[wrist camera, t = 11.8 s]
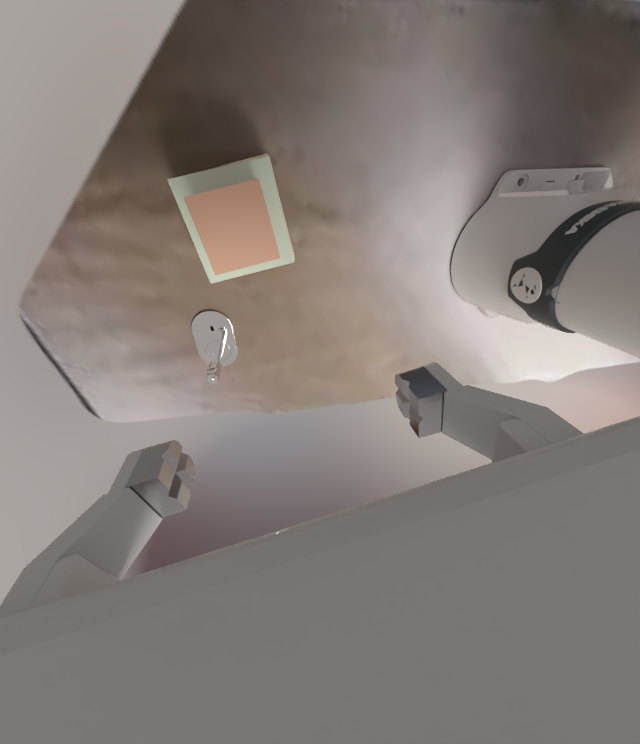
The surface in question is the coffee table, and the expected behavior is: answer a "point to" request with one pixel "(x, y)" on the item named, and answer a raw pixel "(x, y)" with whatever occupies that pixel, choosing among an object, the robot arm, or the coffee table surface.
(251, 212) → the terracotta block
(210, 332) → the stand
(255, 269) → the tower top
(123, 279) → the coffee table surface
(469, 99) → the coffee table surface
